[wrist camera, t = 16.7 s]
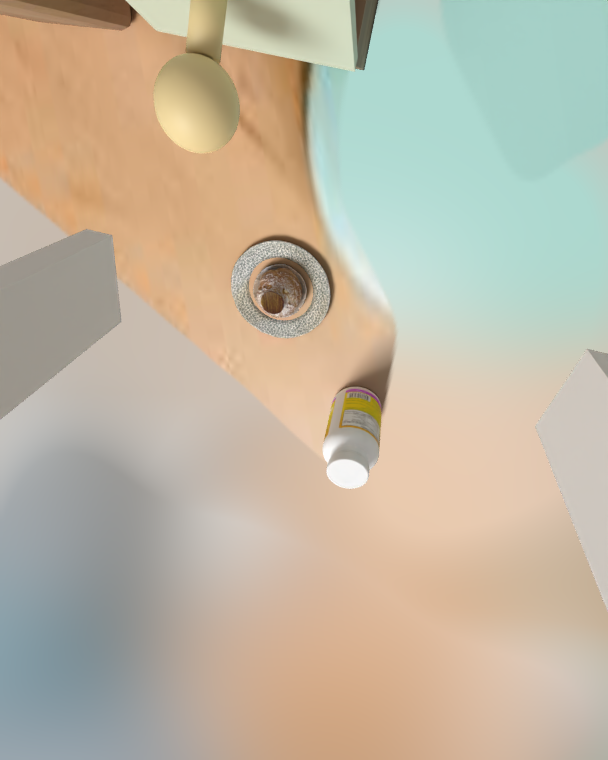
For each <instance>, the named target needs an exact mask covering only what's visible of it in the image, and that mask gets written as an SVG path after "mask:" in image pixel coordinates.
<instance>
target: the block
mask: <svg viewBox="0 0 608 760" xmlns="http://www.w3.org/2000/svg"><path fill="white" fill-rule="evenodd" d="M0 14H1V15H6V16H12V17H17V18H22V19H27V20H32V21H37V22H45V23H55V24H64V25H74V26H83V27H93V28H102V29H112V30H123V29H125V28H127V27H129V26H130V23H131V11H130V4H129V3H128V2H127V1H126V0H0Z"/></svg>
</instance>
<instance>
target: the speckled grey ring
mask: <svg viewBox="0 0 608 760" xmlns="http://www.w3.org/2000/svg"><path fill="white" fill-rule="evenodd" d="M276 257H279V258H286V259H289V260H292V261H294V262H295V263H297V264H298V265H300V266H301V267H302V268H303V269H304V270H305V271H306V272H307V274H308V275H309V277H310V279H311V282H312V285H313V300H312V303H311V305H310V307H309V308H308V310H307V311H306V312H305V313H304V314H303V315H302V316H300V317H298V318H296V319H293V320H287V321H286V320H285V321H283V320H276V319H273V318H270V317H268V316H267V315H265V314H263V313H262V312H261V311H260V310H259V309H258V308H257V307H256V306H255V304H254V303H253V301H252V299H251V296H250V292H249V279H250V276H251V273H252V271H253V270H254V268H255V267H256V266H257V265H258V264H259V263H261V262H262V261H264V260H266V259H269V258H276ZM278 268H279V269H278ZM231 290H232V295H233V298H234V301H235V304H236V307H237V308H238V310H239V312H240V313H241V315H242V316H243V317H244V319H245V320H246V321H247V322H248V323H250V324H251V325H252V326H254V327H255V328H257V329H258V330H259V331H261V332H263V333H266V334H268V335H271V336H274V337H279V338H294V337H298V336H301V335H304V334H306V333H308V332H310V331H312V330H313V329H314V328H316V327H317V326H318V325H319V324H320V323H321V322H322V320H323V319H324V318H325V316H326V313H327V311H328V308H329V303H330V296H331V294H330V286H329V282H328V278H327V275H326V273H325V271H324V269H323V268H322V266H321V265H320V263H319V262H318V261H317V260H316V259H315V258H314V257H313V256H312V255H311V254H310V253H309V252H307V251H306V250H305V249H303V248H301V247H299V246H297V245H295V244H292V243H290V242H286V241H278V240H272V241H265V242H262V243H259V244H257V245H254V246H252V247H250V248H249V249H248V250H246V251H245V252H244V253H243V254H242V255H241V256H240V258H239V259H238V260H237V262H236V264H235V266H234V268H233V271H232V277H231ZM306 293H307V288H306V284H305V281H304V279H303V278H302V277H301V275H300V274H299V273H298V272H297V271H295V270H294V269H293V268H291V267H290V266H288V265H285V264H275V265H272V266H269V267H266V268H265V269H263V270H262V271H261V272H260V274H259V275H258V276H257V278H256V280H255V283H254V287H253V294H254V298H255V299H256V301H257V303H258V305H259V306H260V307H261V308H262V310H263V311H265V312H266V313H267V314H268V315H271V316H273V317H289V316H291V315H293V314H295V313H297V311H299V308H301V306H302V305H303V304H304V300H305V299H306Z"/></svg>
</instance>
